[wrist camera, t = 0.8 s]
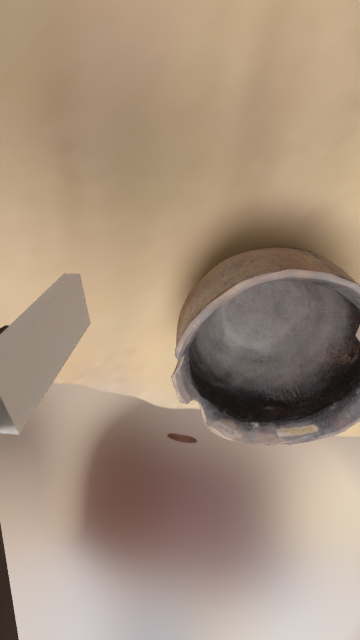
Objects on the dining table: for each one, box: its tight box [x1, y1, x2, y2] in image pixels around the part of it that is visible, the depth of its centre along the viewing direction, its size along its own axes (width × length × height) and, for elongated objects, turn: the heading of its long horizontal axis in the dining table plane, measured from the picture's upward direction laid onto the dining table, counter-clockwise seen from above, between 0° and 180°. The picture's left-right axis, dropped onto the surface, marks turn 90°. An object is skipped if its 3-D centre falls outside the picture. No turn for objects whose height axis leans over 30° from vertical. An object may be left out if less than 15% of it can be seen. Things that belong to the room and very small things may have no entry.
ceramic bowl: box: [171, 247, 360, 445], centre depth 35 cm, size 22×22×15 cm
